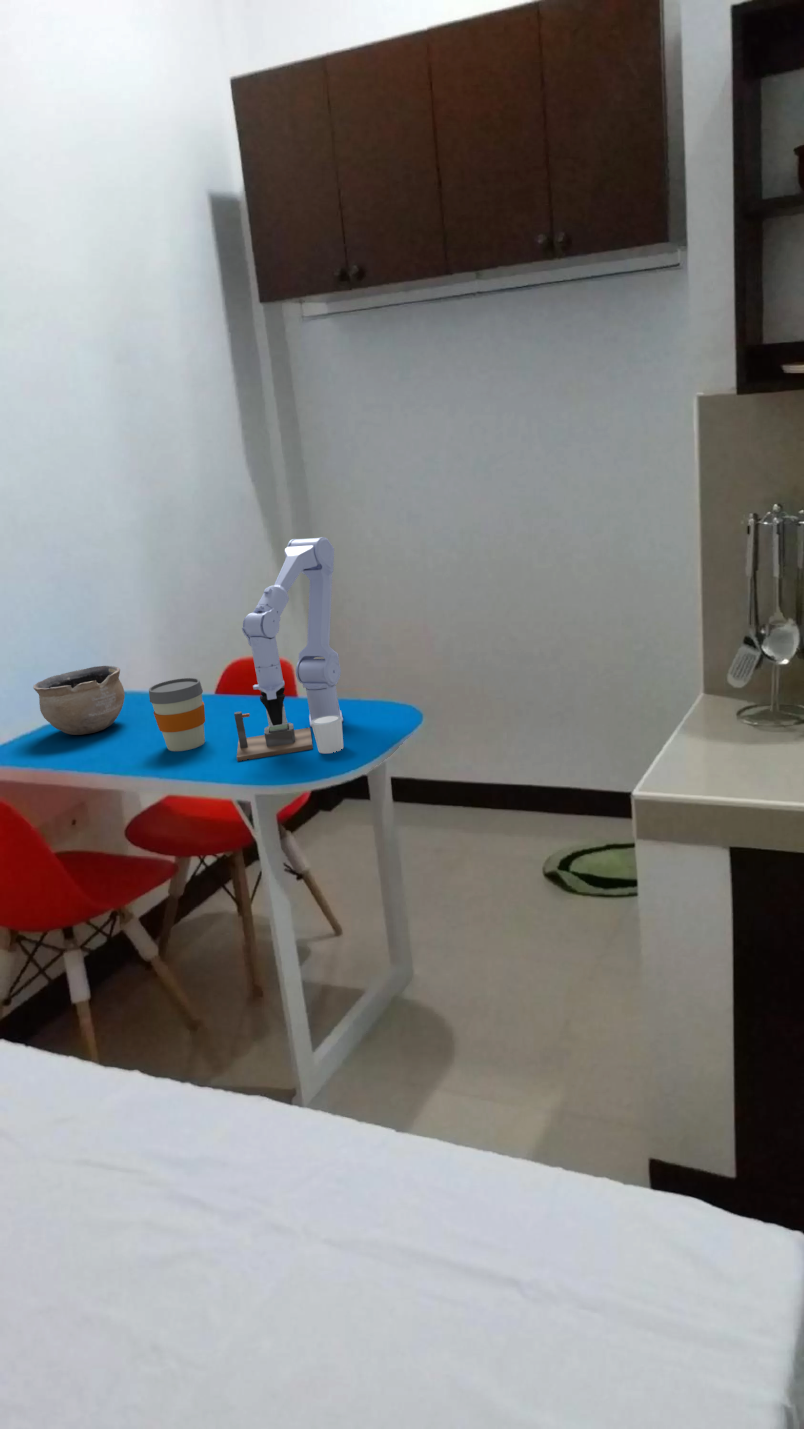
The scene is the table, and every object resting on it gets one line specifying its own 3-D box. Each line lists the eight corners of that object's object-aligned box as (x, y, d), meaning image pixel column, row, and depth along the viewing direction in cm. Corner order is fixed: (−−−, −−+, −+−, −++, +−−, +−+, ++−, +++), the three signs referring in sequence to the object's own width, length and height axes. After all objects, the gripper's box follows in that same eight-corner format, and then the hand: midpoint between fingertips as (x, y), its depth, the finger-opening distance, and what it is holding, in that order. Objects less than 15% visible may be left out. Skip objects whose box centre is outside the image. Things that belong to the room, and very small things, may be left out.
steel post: (271, 738, 252) (265, 706, 249) (289, 735, 252) (283, 703, 250) (271, 744, 248) (265, 710, 245) (289, 741, 248) (284, 707, 246)
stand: (239, 743, 256) (232, 706, 254) (310, 731, 257) (304, 694, 255) (237, 761, 243) (230, 722, 240) (312, 748, 244) (306, 709, 241)
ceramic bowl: (65, 749, 272) (51, 691, 268) (33, 736, 289) (20, 682, 285) (145, 724, 285) (133, 668, 281) (110, 712, 302) (98, 660, 297)
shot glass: (312, 749, 244) (307, 719, 242) (340, 741, 246) (336, 712, 244) (320, 756, 238) (315, 726, 236) (350, 749, 240) (345, 719, 238)
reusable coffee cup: (161, 757, 254) (148, 696, 250) (158, 743, 265) (146, 684, 261) (215, 746, 256) (203, 685, 252) (209, 732, 268) (198, 674, 264)
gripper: (250, 660, 251) (260, 716, 255) (249, 674, 238) (259, 733, 241) (280, 655, 252) (290, 711, 256) (281, 669, 238) (291, 728, 242)
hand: (277, 721), depth 249 cm, fingers closed on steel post, 4 cm apart
